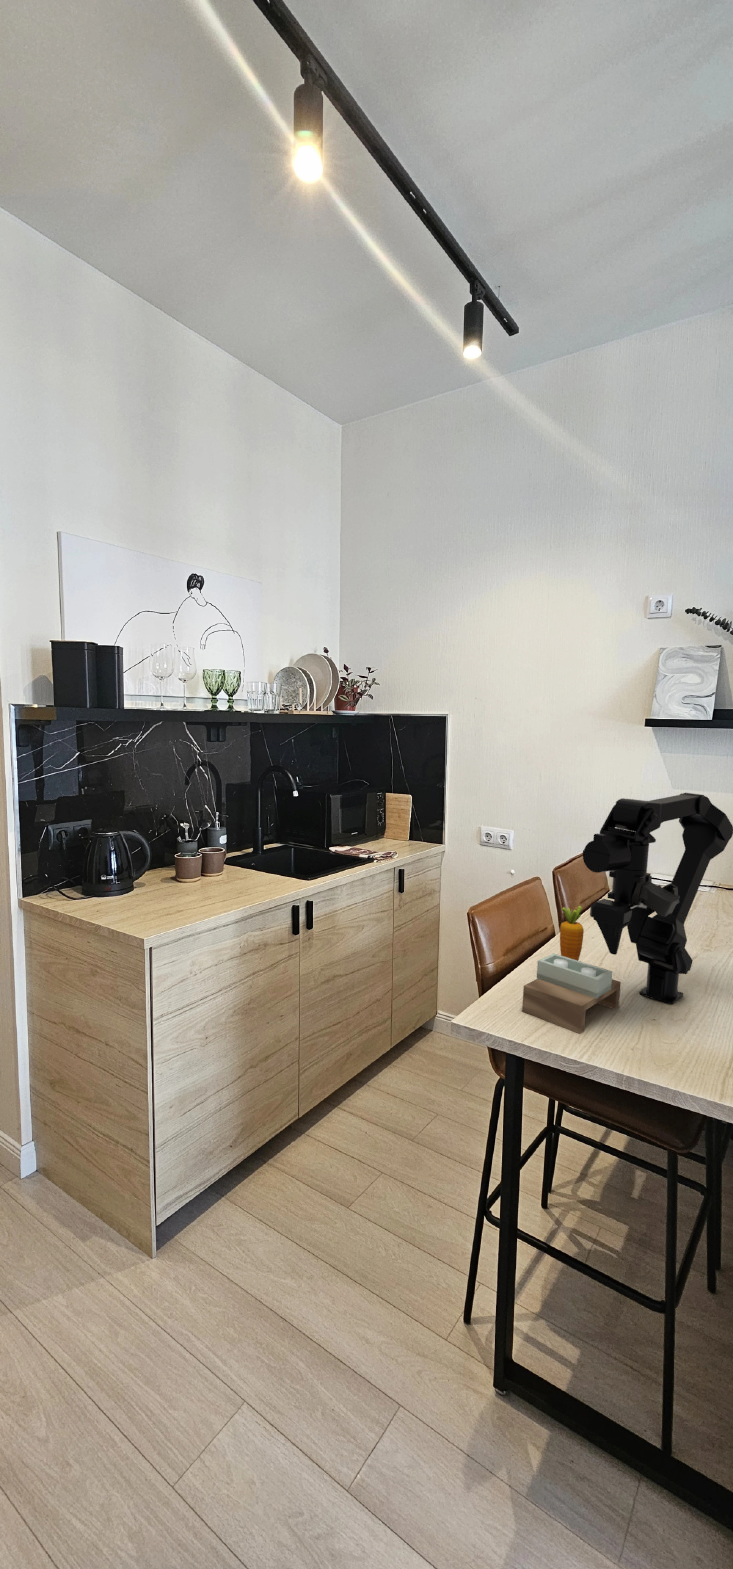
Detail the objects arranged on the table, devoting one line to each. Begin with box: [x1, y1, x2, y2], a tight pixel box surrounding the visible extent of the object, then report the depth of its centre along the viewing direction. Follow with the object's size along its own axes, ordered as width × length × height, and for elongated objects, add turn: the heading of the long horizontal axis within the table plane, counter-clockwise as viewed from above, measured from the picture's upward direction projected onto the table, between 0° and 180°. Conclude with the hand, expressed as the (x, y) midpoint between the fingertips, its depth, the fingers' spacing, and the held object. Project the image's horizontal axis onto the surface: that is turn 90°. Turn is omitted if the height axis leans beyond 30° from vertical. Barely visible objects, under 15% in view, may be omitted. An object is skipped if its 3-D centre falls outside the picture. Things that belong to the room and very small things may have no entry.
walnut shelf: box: [521, 978, 622, 1034], centre depth 125 cm, size 16×12×5 cm
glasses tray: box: [536, 953, 613, 999], centre depth 124 cm, size 6×12×4 cm, turn 45°
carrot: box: [559, 905, 585, 961], centre depth 141 cm, size 5×5×15 cm
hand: (623, 948), depth 124 cm, fingers open, 9 cm apart
